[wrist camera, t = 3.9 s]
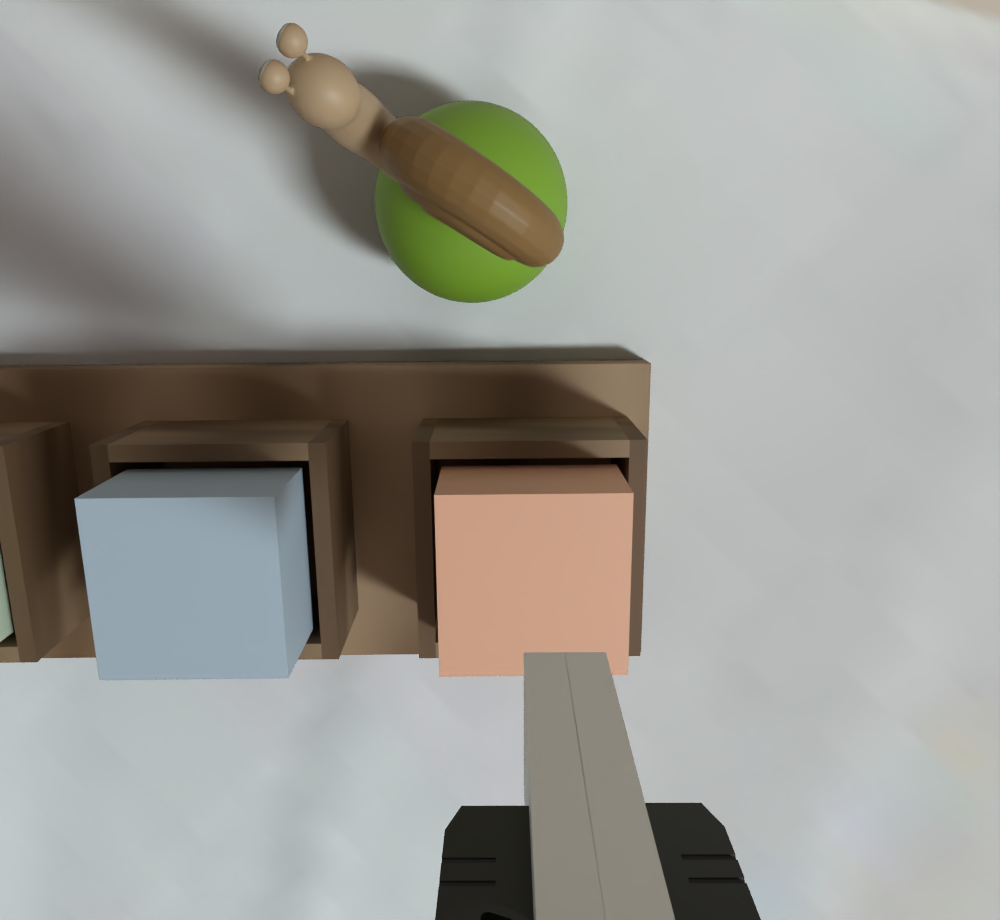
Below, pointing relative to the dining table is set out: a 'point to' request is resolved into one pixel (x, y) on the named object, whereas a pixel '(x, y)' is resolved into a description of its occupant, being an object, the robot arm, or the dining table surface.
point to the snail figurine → (439, 178)
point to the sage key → (4, 607)
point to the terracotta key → (531, 565)
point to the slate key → (197, 573)
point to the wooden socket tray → (325, 465)
